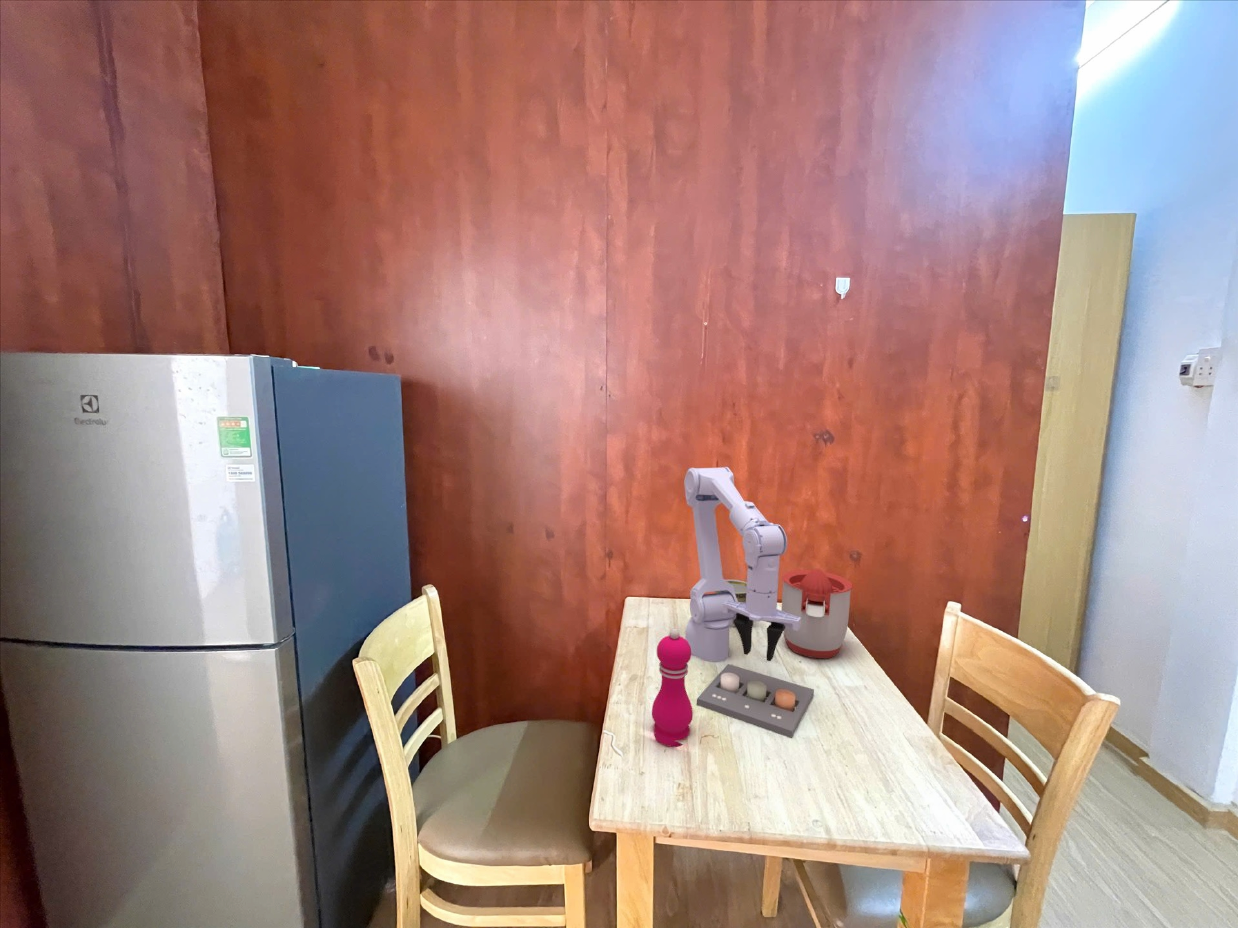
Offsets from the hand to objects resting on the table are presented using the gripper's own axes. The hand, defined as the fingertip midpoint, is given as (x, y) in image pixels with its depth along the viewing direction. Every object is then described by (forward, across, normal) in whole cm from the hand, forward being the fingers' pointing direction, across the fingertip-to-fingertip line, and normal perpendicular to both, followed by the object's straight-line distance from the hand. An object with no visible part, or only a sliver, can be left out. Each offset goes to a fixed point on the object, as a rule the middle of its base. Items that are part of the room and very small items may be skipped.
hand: (758, 655), depth 104 cm
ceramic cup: (+11, -16, +34) cm, 40 cm away
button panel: (+10, 0, 0) cm, 10 cm away
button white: (+9, -6, 0) cm, 11 cm away
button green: (+9, 0, 0) cm, 9 cm away
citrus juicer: (+11, +4, +30) cm, 32 cm away
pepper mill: (+11, -10, -18) cm, 23 cm away
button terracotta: (+9, +6, 0) cm, 11 cm away
